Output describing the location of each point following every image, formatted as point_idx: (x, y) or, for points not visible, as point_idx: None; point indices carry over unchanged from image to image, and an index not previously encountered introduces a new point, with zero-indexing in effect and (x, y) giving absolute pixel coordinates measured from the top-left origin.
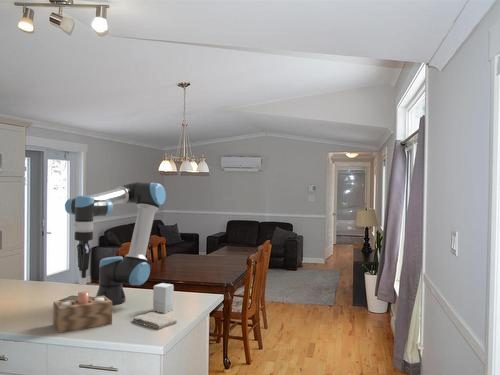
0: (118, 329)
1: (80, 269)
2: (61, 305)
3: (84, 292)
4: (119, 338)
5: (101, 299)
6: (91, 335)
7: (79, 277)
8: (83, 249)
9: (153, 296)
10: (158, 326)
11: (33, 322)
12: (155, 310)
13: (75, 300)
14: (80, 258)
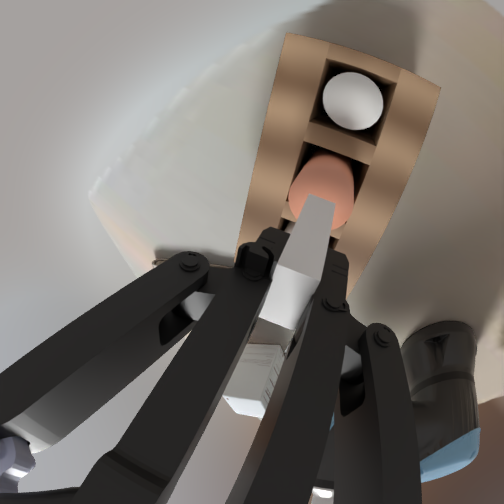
0: (207, 200)
1: (237, 256)
2: (352, 73)
3: None
4: (148, 161)
5: None
6: (209, 115)
7: (324, 230)
8: (22, 495)
9: (268, 375)
10: (155, 263)
11: (481, 75)
12: (271, 346)
13: (379, 174)
14: (268, 433)
